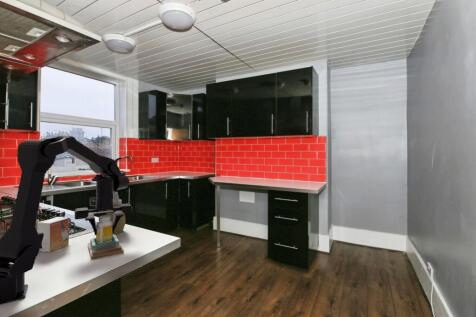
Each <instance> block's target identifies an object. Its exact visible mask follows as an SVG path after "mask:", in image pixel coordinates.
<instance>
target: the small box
mask: <svg viewBox="0 0 476 317" xmlns="http://www.w3.org/2000/svg"><path fill="white" fill-rule="evenodd" d="M36 223H37V224H36V230H37V232H39V233H44V237H43V240H42V249H40V250H39V252H43V253H44V252H46V253H51V252H53V251H56V250H58V249H60V248H63V247H66V246H69V245H70V218H69V217H64V216H63V217H62V216H55V217H53V218H50V219H45V220H42V221H37V222H36Z"/></svg>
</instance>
